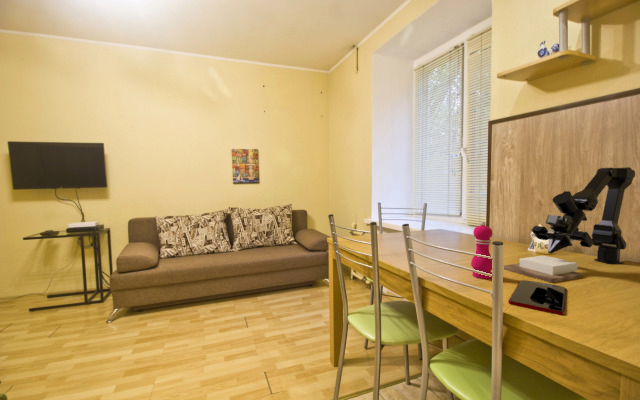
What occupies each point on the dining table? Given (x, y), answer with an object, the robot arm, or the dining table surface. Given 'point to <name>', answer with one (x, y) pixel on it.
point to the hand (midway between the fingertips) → (549, 252)
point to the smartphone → (539, 297)
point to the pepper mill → (482, 250)
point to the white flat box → (548, 265)
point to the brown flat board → (542, 274)
